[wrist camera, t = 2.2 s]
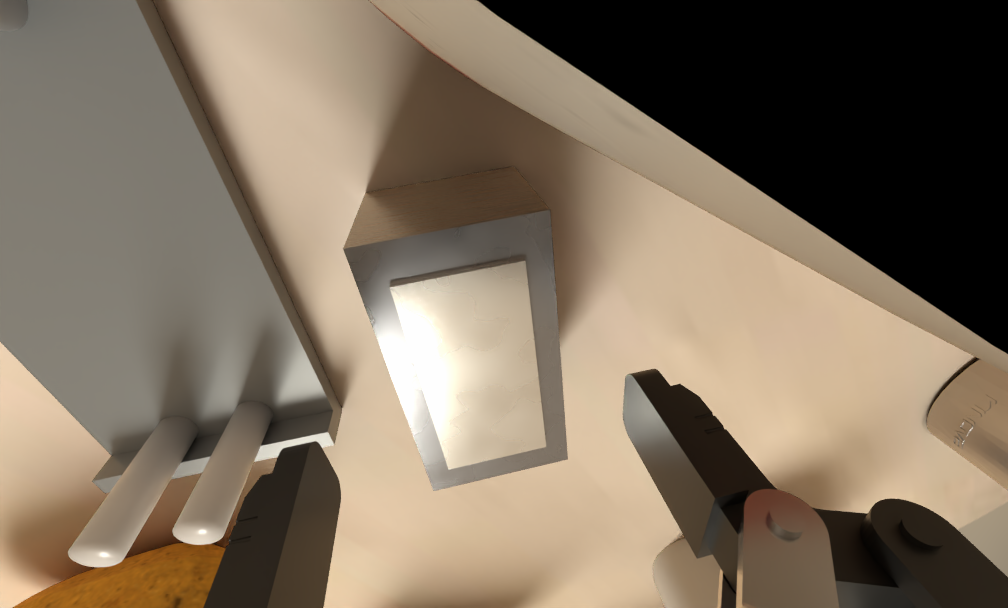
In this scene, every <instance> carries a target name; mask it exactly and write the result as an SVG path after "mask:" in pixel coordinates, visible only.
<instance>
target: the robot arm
mask: <svg viewBox="0 0 1008 608" xmlns="http://www.w3.org/2000/svg"><path fill="white" fill-rule="evenodd" d="M623 420H624V425H625V428H626V431H627V434H628V436H629V438H630V440H631V441H632V443H633V445H634V447H635V449H636V450H637V452H638V454H639V456H640V457H641V459H642V461H643V463H644V465H645V466H646V468H647V470H648V472H649V474H650V475H651V477H652V479H653V481H654V483H655V484H656V486H657V488H658V490H659V492H660V493H661V495H662V497H663V499H664V501H665V502H666V504H667V506H668V508H669V510H670V511H671V513H672V515H673V517H674V519H675V520H676V522H677V524H678V526H679V528H680V529H681V531H682V533H683V535H684V536H685V538H686V540H687V542H688V544H689V545H690V547H691V549H692V551H693V553H694V554H695V556H696V558H697V559H698V558H702V557H705V556H709V555H713V556H714V558H715V560H716V561H717V563H718V565H719V566H720V568H721V569H720V574H719V589H718V605H717V608H1008V577H1007V576H1006V575H1005V574H1004V573H1003V572H1001V571H1000V570H999V569H998V568H997V567H996V566H995V565H994V564H993V563H992V562H991V561H990V560H989V559H988V558H987V557H986V556H985V555H983V554H982V553H981V552H980V551H979V550H978V549H977V548H976V547H975V546H974V545H973V544H972V543H971V542H970V541H968V539H966V538H965V537H964V536H963V535H962V534H961V533H960V532H959V531H958V530H957V529H956V528H955V527H954V526H952V525H951V524H950V523H949V522H948V521H946V520H945V519H944V518H942V517H941V516H939V515H938V514H936V513H934V512H933V511H931V510H929V509H927V508H925V507H923V506H921V505H918V504H916V503H913V502H909V501H906V500H901V499H884V500H881V501H879V502H877V503H875V505H874V506H873V507H872V508H871V510H870V511H869V513H868V514H865V513H853V512H842V511H830V510H821V509H815V508H812V507H810V506H809V505H808V504H807V503H805V502H804V501H802V500H801V499H799V498H798V497H796V496H794V495H792V494H789V493H787V492H784V491H780V490H777V489H776V488H775V487H774V486H773V485H772V484H771V483H770V482H769V481H768V480H767V478H766V477H765V476H764V475H763V473H762V472H761V471H760V470H759V469H758V467H757V466H756V465H755V464H754V463H753V461H752V460H751V459H750V458H749V457H748V455H747V454H746V453H745V452H744V450H743V449H742V448H741V447H740V446H739V444H738V443H737V442H736V441H735V440H734V438H733V437H732V436H731V435H730V433H729V432H728V431H727V430H725V429H724V428H723V425H722V424H721V423H720V421H719V420H718V419H717V418H716V416H713V414H712V412H711V410H710V409H709V408H708V407H707V406H706V404H705V403H704V402H703V401H702V400H701V398H700V397H699V396H698V395H696V394H695V393H693V392H691V391H690V390H688V389H687V388H685V387H684V386H682V385H681V384H678V385H673V386H670V385H669V384H668V382H667V381H666V380H665V378H664V377H663V376H662V374H661V373H660V372H659V371H658V370H656V369H650V370H646V371H641V372H637V373H632V374H628V375H627V376H626V378H625V389H624V403H623ZM927 428H928V430H929V431H930V432H931V434H933V435H934V436H936V437H937V438H938V439H940V440H941V441H942V442H944V443H945V444H946V445H948V446H949V447H950V448H952V449H953V450H954V451H956V452H957V453H958V454H960V455H961V456H962V457H964V458H965V459H966V460H968V461H969V462H971V463H972V464H973V465H975V466H976V467H977V468H979V469H980V470H981V471H983V472H984V473H985V474H987V475H988V476H989V477H991V478H992V479H993V480H995V481H996V482H997V483H998V484H1000V485H1001V486H1002V487H1004V488H1005V489H1006V490H1008V373H1006V372H1004V371H1002V370H1000V369H998V368H996V367H994V366H992V365H990V364H988V363H987V362H985V361H983V360H981V359H979V360H978V361H977V362H975V363H974V364H972V365H971V366H970V367H968V368H967V369H966V370H964V371H963V372H962V373H961V374H960V375H959V376H957V377H956V378H955V379H954V380H953V381H952V382H951V383H950V384H949V385H948V386H947V387H946V388H945V389H944V390H943V391H942V393H941V394H940V395H939V397H938V398H937V399H936V401H935V402H934V404H933V405H932V407H931V409H930V411H929V413H928V418H927ZM340 502H341V490H340V483H339V480H338V477H337V475H336V473H335V471H334V469H333V468H332V466H331V464H330V462H329V460H328V458H327V456H326V455H325V453H324V451H323V449H322V447H321V445H320V444H319V443H318V442H317V441H313V442H309V443H304V444H300V445H295V446H290V447H286V448H283V449H282V450H281V451H280V453H279V455H278V458H277V461H276V464H275V467H274V470H273V473H272V474H267V475H263V476H261V477H260V478H259V480H258V481H257V482H256V484H255V485H254V486H253V488H252V489H251V490H250V492H249V493H248V494H247V496H246V497H245V499H244V501H243V504H242V507H241V509H240V512H239V515H238V517H237V520H236V526H234V528H233V530H232V533H231V536H230V538H229V545H228V546H226V549H225V552H224V554H223V557H222V559H221V562H220V565H219V567H218V570H217V573H216V575H215V578H214V581H213V583H212V586H211V589H210V591H209V594H208V596H207V599H206V602H205V604H204V607H203V608H323V606H324V600H325V594H326V588H327V582H328V576H329V570H330V564H331V557H332V551H333V545H334V539H335V533H336V527H337V521H338V514H339V508H340Z"/></svg>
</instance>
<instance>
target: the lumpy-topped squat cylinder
mask: <svg viewBox="0 0 1008 608" xmlns="http://www.w3.org/2000/svg"><path fill="white" fill-rule="evenodd" d="M720 569H721V568H720V566H719V565H718V563H717V561H716V560H715V558H714V556H713V555H709V556H705V557H702V558H698V559H697V558H696V556H695V554H694V553H693V551H692V549H691V547H690V545H689V544H688V542H687V540H686V538H683V539H680V540H678V541H676V542H674V543H672V544H670V545H669V546H667V547H666V548H665V549H663V550H662V551H661V552H660V553H659V554H658V556H657V557H656V559H655V560H654V563H653V579H654V583H655V586H656V588H657V591H658V593H659V595H660V598H661V600H662V602H663V604H664V607H665V608H717V605H718V589H719V574H720Z"/></svg>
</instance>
